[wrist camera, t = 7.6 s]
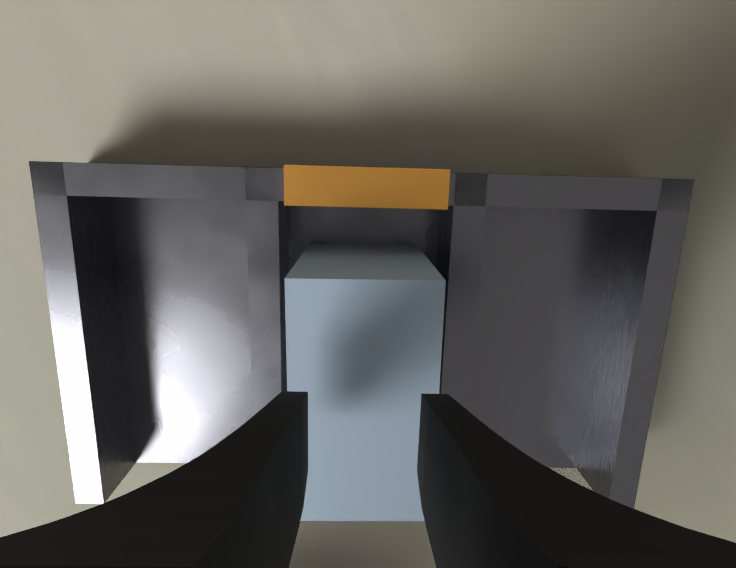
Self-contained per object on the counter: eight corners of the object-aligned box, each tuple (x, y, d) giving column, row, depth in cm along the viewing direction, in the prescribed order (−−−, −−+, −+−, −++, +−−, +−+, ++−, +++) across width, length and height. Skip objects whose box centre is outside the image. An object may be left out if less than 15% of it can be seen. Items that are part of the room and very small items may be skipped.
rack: (594, 454, 21) (646, 517, 17) (117, 448, 20) (62, 511, 16) (637, 176, 18) (711, 176, 14) (86, 160, 17) (10, 157, 14)
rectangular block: (409, 414, 19) (431, 521, 13) (311, 413, 19) (290, 520, 13) (416, 245, 17) (445, 280, 12) (309, 243, 17) (284, 278, 11)
